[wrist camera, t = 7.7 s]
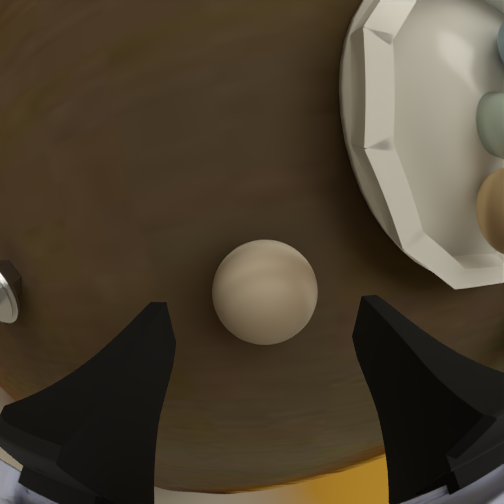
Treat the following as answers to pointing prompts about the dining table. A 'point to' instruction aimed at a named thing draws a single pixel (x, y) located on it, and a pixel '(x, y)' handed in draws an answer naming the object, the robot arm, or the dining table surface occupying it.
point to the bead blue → (501, 41)
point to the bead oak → (492, 209)
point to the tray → (427, 126)
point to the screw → (9, 292)
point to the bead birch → (264, 292)
